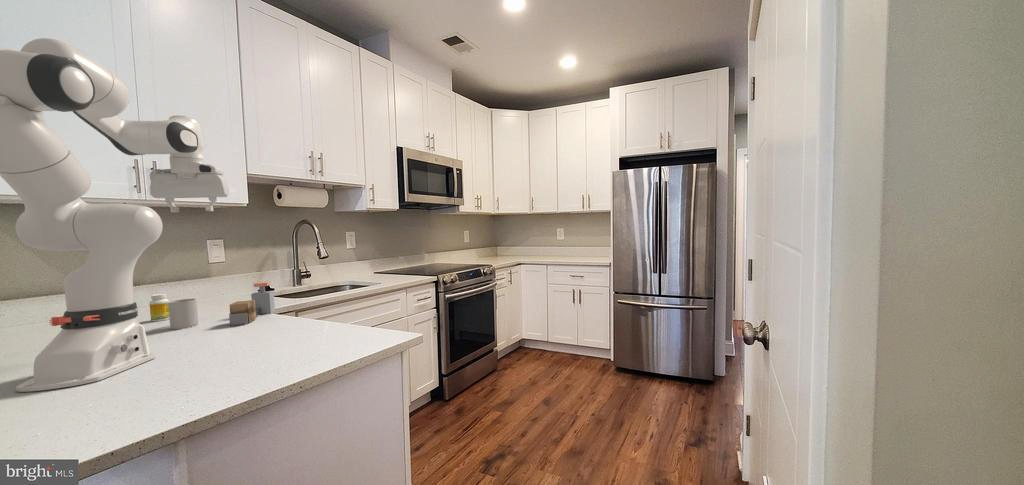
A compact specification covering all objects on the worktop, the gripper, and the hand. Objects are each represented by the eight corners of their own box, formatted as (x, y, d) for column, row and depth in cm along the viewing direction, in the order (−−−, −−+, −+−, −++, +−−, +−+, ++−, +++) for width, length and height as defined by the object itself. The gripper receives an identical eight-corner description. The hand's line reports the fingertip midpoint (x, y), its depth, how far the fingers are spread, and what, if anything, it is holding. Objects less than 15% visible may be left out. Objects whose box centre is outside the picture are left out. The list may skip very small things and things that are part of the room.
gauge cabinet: (270, 313, 143) (269, 292, 142) (252, 315, 141) (251, 294, 141) (274, 310, 147) (273, 290, 146) (257, 312, 145) (255, 292, 145)
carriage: (249, 322, 128) (247, 303, 127) (231, 324, 126) (229, 304, 126) (256, 318, 133) (254, 299, 133) (238, 320, 132) (237, 301, 132)
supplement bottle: (151, 320, 140) (149, 294, 139) (171, 317, 143) (168, 292, 143) (150, 322, 136) (147, 296, 135) (170, 319, 139) (167, 294, 139)
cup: (171, 331, 122) (168, 303, 122) (169, 326, 129) (166, 300, 129) (199, 326, 127) (197, 300, 127) (196, 321, 134) (194, 297, 134)
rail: (247, 324, 126) (246, 312, 126) (230, 326, 125) (229, 314, 125) (264, 314, 142) (263, 303, 141) (249, 315, 140) (248, 305, 140)
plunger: (267, 296, 143) (266, 282, 142) (254, 297, 141) (253, 283, 141) (270, 295, 146) (269, 281, 145) (257, 296, 145) (256, 282, 144)
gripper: (142, 167, 115) (147, 212, 116) (220, 167, 121) (224, 210, 122) (155, 170, 121) (159, 213, 122) (229, 170, 127) (232, 211, 128)
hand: (192, 211), depth 122 cm, fingers open, 8 cm apart
